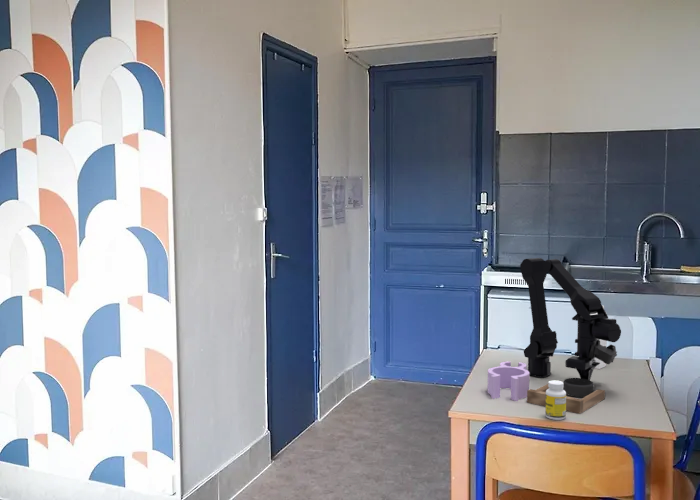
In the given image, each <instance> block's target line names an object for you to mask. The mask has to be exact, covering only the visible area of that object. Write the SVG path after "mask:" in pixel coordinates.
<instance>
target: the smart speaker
mask: <svg viewBox="0 0 700 500" xmlns="http://www.w3.org/2000/svg"><path fill="white" fill-rule="evenodd" d="M562 382H563V383H564V388H563V390H565V392H566V395H568V396H569V397H574V398H575V397H576V398H584V397H586V396H587V395H589V394H591V393H593V392H594V391H595V385H594V382H593V381H592V380H591V379H590V380H588V379H583V378H581V377H568V378H565V379H564V380H563V381H562Z"/></svg>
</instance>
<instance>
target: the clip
mask: <svg viewBox="0 0 700 500" xmlns="http://www.w3.org/2000/svg"><path fill="white" fill-rule="evenodd" d="M511 363H512V361H510V360H509V361H502V362H499V365H498V366H494V367H490V368H488V369H487V394H488V393H489V394H490V395H489V394H488V395H489V396H490V399H492V398H493V400H494V399H495V398H496V399H499V398H501V389H500V388H504V389H506V388H510V400H512V401H513V402H518V401H519V400H520V399H525V398H526V399H527V391H528V390H530V375H529V371H528V364H526V363H525V362H521V361H519V362H518V365H517V366H511Z"/></svg>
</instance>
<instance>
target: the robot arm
mask: <svg viewBox="0 0 700 500" xmlns="http://www.w3.org/2000/svg"><path fill="white" fill-rule="evenodd" d="M519 268H520V273H521V277H522V279H523V280H524V282H525V283H526V285H527V287H528V296H529V302H530V310H531V319H532V325H533V327H532V330H531V332H530V335H529V344H528V346H527V347H526V348H524V349H523V355H524V357H525V358H527V370H528V371H529V377H530V376H532V377H537V378H542V379H544V378H546V377H549V376H550V375H552V372H551V369H552V367H551V366H552V364H551V363H552V362H551V361H550V357H551V358H552V357H554V353H555V351H556V350H557V346H558V343H559V342H558V338H557V332H556V330H553V331H552V329H551V328H550V326H549V318H548V310H547V301H546V295H545V288H544V287H545V285H544V282H545V280H546V278H547V274H549V275H550V276H551V277H552V279H553V280H554V281H555V282H556V283H557V285H558V286H560V288H561V289H562V290H563V291H564V292H565V294H566V295H567V296H568V298H569V299H570V300H569V301H570V305H571V306H572V308H573V309H574V311H575V312H576V314H575V315H574V316H573V317H571V320H572V321H576V322H577V334H576V336H577V337H576V338H575V340H574V343H575V344H576V346H577V347H576V349H577V350H576V351H575V352H574V355H572V356H570V357H568V358H567V359H566V360H565V367H566V368H569V369H574V370H576V371H577V372H578V375H579V378H583V379H588V380H590V381H591V378H592V375H593V372H594V370H595V367H596V366H597V365H599V364H600V363H598V362H596V360H594V359H595V358H597V359H599V360H601V361H603V362H604V363H606V365H610V364H611V363H614V361H615V358H616V357H617V356H618V354H617V353H618V351H617V350H616V345H613V344H609V345H608V346H607V345H606V346H602V345H600V341H599V339H601V340H605V341H607V342H610V343H616V342H618V341H619V339H620V338H621V336H622V335H621V334H622V329H621V327H620V325H619V324H618V323H617V319H616V318H609V316H608V313H607V311H606V310H605V307H604V308H603V306H604V305H603V304H602V300H601V299H600V297H599V296H597V295H596V294H595V293H593V292H592V291H590V290H588V289H586V288H584V287H583V286H582V285H581V284H580V283H579V282H578V281H577V280H576V278H575V277H574V276H573V275H572V274H571V273H570V272H569V271H568V270H567V269H566V268H565V266H564V265H563V264H562V262H561V260H559V259H557V258H552V259H550V258H549V259H546V260H544V259H543V258H542V257H532V258H525V259H523V260H522V261H521V262H520V265H519ZM602 305H603V306H602ZM605 311H606V312H605ZM596 313H597V314H596ZM606 313H607V314H606ZM590 314H594V315H590Z"/></svg>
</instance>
